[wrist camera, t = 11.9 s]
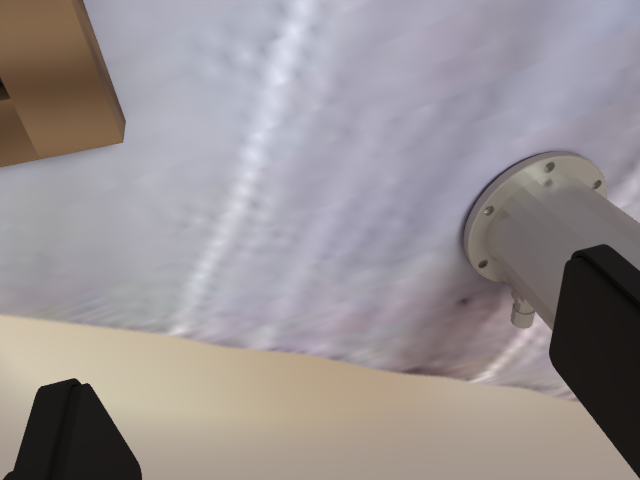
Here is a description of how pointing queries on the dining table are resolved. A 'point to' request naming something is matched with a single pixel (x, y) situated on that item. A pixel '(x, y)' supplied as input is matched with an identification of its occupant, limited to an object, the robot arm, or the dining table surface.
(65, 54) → the walnut bore plate
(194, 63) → the dining table surface
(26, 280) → the dining table surface
